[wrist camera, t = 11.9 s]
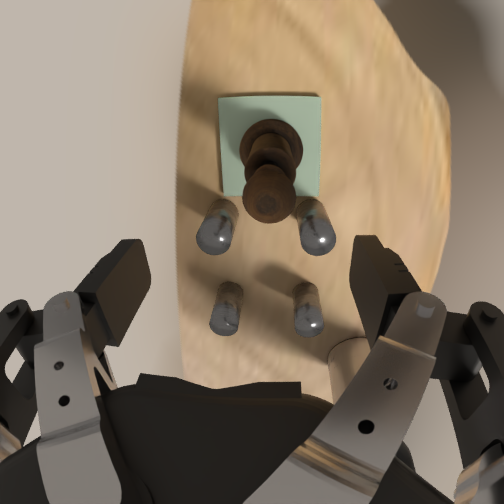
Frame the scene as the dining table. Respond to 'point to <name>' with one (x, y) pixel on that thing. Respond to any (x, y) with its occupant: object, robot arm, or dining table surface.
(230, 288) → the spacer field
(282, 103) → the green mat
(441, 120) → the dining table surface
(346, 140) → the dining table surface
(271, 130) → the wooden pepper mill
